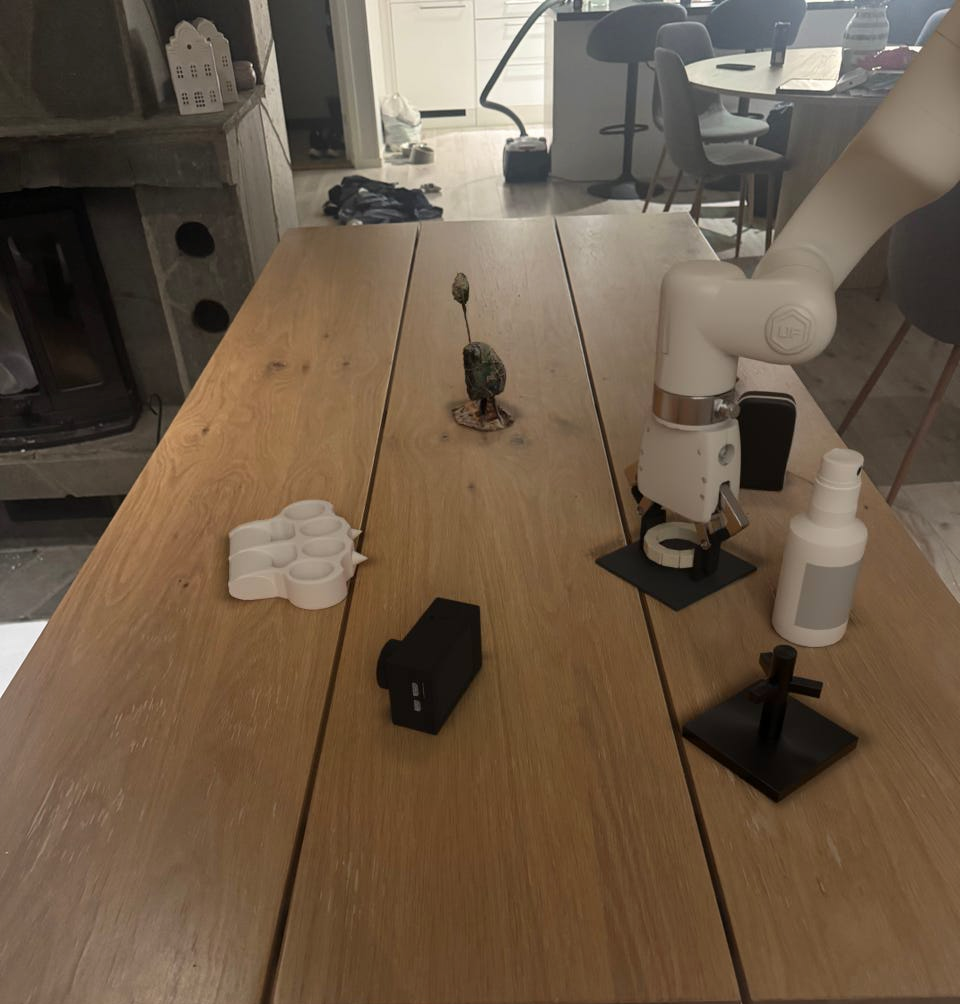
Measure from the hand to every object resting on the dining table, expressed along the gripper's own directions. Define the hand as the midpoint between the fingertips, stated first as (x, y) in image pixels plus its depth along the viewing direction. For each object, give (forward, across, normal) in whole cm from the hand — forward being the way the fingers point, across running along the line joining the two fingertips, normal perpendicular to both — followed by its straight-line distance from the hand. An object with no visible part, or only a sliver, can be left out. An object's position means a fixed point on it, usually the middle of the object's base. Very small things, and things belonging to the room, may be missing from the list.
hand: (677, 559), depth 101 cm
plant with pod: (+1, +43, -7) cm, 44 cm away
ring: (-1, 0, 0) cm, 1 cm away
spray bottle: (+1, -16, -2) cm, 16 cm away
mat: (+1, 0, 0) cm, 1 cm away
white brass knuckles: (+1, +26, +31) cm, 41 cm away
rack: (+1, -24, +14) cm, 28 cm away
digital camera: (+1, -1, +32) cm, 32 cm away
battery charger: (+1, +7, -21) cm, 22 cm away
